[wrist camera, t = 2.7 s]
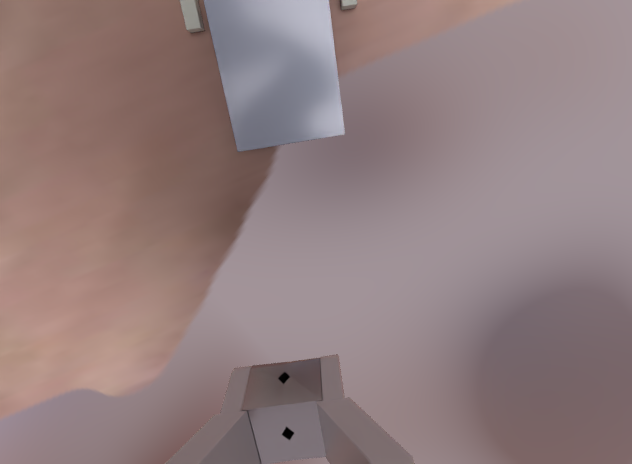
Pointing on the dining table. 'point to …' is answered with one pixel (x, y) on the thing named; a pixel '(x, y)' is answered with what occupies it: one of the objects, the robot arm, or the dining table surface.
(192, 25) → the shelf
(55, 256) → the dining table surface
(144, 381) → the dining table surface
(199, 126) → the dining table surface
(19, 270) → the dining table surface
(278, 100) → the slab
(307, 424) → the robot arm
